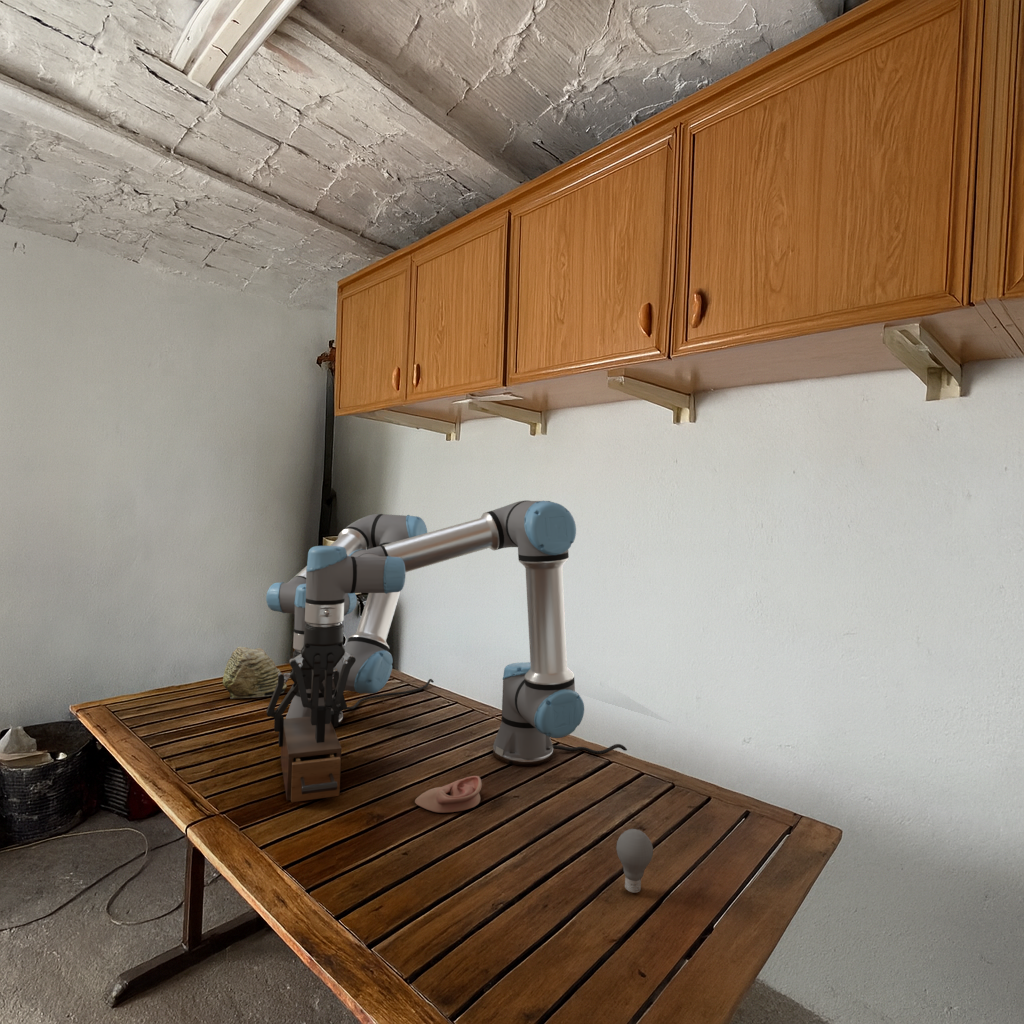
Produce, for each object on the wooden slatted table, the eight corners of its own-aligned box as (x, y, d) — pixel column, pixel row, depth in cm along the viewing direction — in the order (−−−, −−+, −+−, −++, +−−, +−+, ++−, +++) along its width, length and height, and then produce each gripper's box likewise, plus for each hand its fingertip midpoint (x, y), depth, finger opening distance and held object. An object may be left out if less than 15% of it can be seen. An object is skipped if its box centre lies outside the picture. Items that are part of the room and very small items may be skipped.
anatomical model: (409, 789, 130) (428, 766, 141) (409, 808, 130) (427, 784, 141) (472, 798, 127) (486, 774, 138) (471, 818, 127) (485, 792, 138)
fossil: (218, 695, 195) (220, 647, 195) (278, 685, 208) (279, 640, 207) (228, 703, 189) (230, 653, 188) (289, 692, 201) (290, 645, 201)
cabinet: (339, 793, 136) (341, 747, 135) (286, 800, 131) (288, 753, 131) (327, 754, 155) (328, 714, 155) (280, 759, 151) (282, 719, 151)
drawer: (343, 809, 127) (345, 770, 127) (293, 816, 123) (295, 777, 123) (326, 757, 151) (328, 725, 151) (284, 762, 147) (285, 729, 147)
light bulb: (610, 879, 108) (613, 822, 108) (644, 879, 109) (647, 822, 109) (619, 902, 102) (622, 840, 102) (655, 901, 103) (658, 840, 103)
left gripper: (257, 656, 142) (253, 753, 142) (362, 650, 151) (358, 742, 151) (256, 648, 149) (253, 741, 149) (356, 643, 158) (353, 731, 158)
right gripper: (291, 628, 121) (286, 750, 121) (360, 625, 126) (355, 743, 126) (288, 620, 128) (284, 736, 128) (354, 618, 133) (349, 730, 133)
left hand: (306, 742), depth 150 cm, fingers closed on cabinet, 11 cm apart
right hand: (319, 739), depth 127 cm, fingers closed
